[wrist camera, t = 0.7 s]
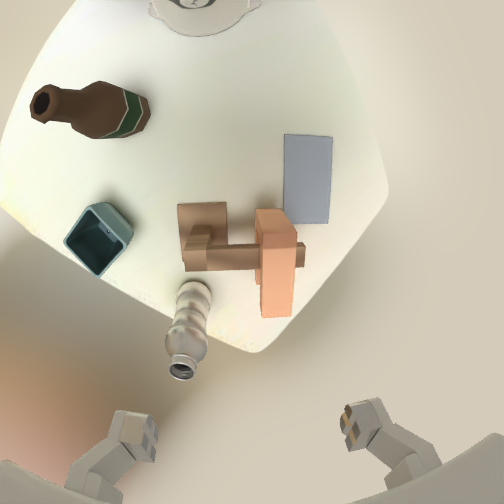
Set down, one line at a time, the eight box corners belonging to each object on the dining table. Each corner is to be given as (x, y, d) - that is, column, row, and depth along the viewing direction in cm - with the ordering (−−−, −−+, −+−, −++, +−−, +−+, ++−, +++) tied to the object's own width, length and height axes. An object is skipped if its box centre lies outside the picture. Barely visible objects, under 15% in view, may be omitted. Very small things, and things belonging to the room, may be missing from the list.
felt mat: (284, 134, 40) (285, 134, 40) (331, 137, 41) (332, 137, 40) (282, 223, 46) (283, 224, 46) (327, 222, 47) (328, 223, 46)
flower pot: (116, 257, 46) (97, 280, 38) (85, 224, 43) (61, 242, 35) (145, 227, 45) (128, 246, 36) (112, 191, 42) (88, 204, 33)
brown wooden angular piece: (177, 204, 44) (161, 226, 33) (289, 200, 45) (307, 221, 34) (183, 259, 48) (171, 294, 37) (287, 255, 49) (302, 289, 38)
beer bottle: (107, 137, 38) (10, 148, 16) (112, 94, 35) (20, 71, 13) (148, 138, 39) (68, 143, 17) (155, 92, 36) (81, 55, 14)
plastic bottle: (203, 272, 49) (189, 349, 31) (218, 301, 52) (214, 381, 33) (172, 283, 49) (147, 360, 31) (189, 311, 52) (174, 390, 34)
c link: (255, 209, 41) (263, 233, 31) (281, 208, 41) (297, 232, 31) (255, 278, 46) (261, 318, 36) (278, 277, 46) (291, 316, 36)
